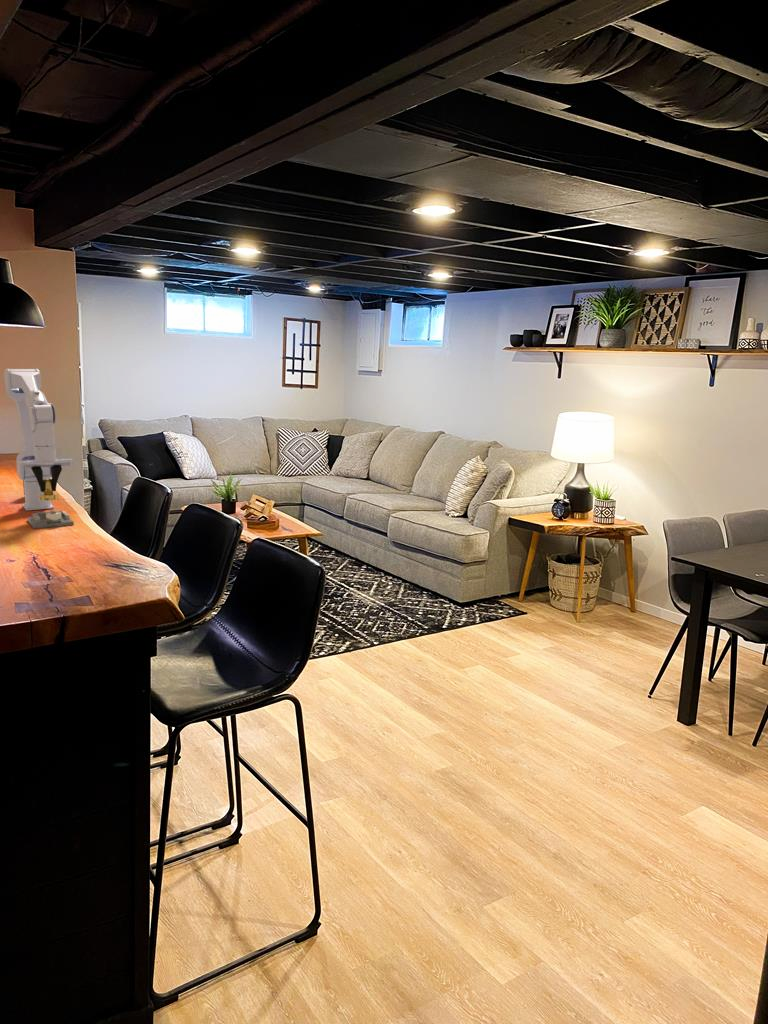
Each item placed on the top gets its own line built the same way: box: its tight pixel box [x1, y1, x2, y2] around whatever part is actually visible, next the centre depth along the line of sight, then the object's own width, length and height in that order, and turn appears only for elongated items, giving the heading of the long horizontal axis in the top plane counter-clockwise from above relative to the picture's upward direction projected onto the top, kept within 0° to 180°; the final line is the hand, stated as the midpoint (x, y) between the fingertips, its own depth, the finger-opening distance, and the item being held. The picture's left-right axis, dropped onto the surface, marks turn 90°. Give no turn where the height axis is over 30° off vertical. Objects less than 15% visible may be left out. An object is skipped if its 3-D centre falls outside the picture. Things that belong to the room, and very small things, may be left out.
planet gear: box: [39, 478, 59, 501], centre depth 227 cm, size 5×5×6 cm
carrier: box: [26, 510, 74, 530], centre depth 219 cm, size 12×10×4 cm
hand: (48, 491), depth 227 cm, fingers closed on planet gear, 3 cm apart
